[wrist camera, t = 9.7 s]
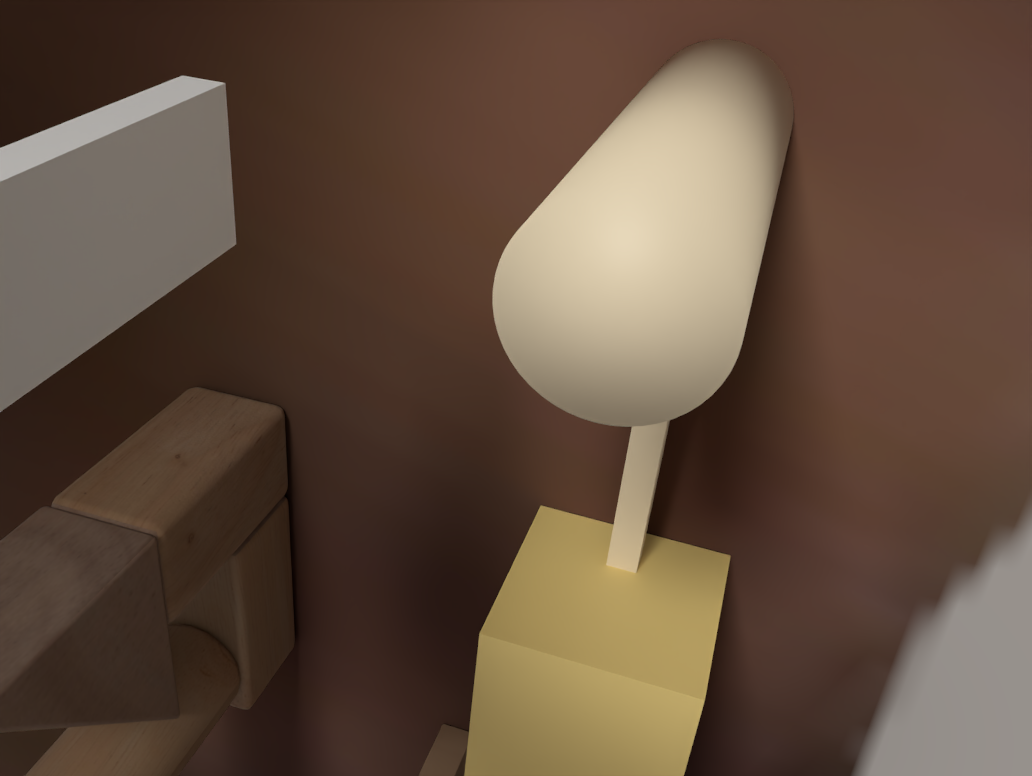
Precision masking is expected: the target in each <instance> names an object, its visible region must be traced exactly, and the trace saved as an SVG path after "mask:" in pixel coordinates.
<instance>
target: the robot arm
mask: <svg viewBox="0 0 1032 776" xmlns="http://www.w3.org/2000/svg"><path fill="white" fill-rule="evenodd" d="M235 245H236V231H235V217H234V202H233V187H232V173H231V158H230V143H229V128H228V114H227V99H226V84H225V83H222V82H217V81H211V80H205V79H200V78H194V77H188V76H180V77H177V78H175V79H172V80H170V81H167V82H165V83H162V84H160V85H157V86H155V87H152V88H149V89H147V90H144V91H142V92H139V93H137V94H134V95H132V96H129V97H127V98H124V99H122V100H119V101H117V102H114V103H112V104H109V105H107V106H104V107H102V108H99V109H97V110H94V111H92V112H89V113H87V114H84V115H82V116H79V117H77V118H74V119H72V120H69V121H67V122H64V123H62V124H59V125H57V126H54V127H52V128H49V129H47V130H44V131H42V132H39V133H37V134H34V135H32V136H29V137H27V138H24V139H22V140H19V141H17V142H14V143H11V144H9V145H6V146H4V147H1V148H0V412H1V411H2V410H4V409H5V408H7V407H8V406H9V405H11V404H12V403H14V402H15V401H16V400H18V399H19V398H21V397H22V396H24V395H25V394H26V393H28V392H29V391H31V390H32V389H33V388H35V387H36V386H38V385H39V384H40V383H42V382H43V381H45V380H46V379H47V378H49V377H50V376H52V375H53V374H54V373H56V372H57V371H59V370H60V369H61V368H63V367H64V366H66V365H67V364H69V363H70V362H71V361H73V360H74V359H76V358H77V357H78V356H80V355H81V354H83V353H84V352H85V351H87V350H88V349H90V348H91V347H92V346H94V345H95V344H97V343H98V342H99V341H101V340H102V339H104V338H105V337H107V336H108V335H109V334H111V333H112V332H114V331H115V330H116V329H118V328H119V327H121V326H122V325H123V324H125V323H126V322H128V321H129V320H130V319H132V318H133V317H135V316H136V315H137V314H139V313H140V312H142V311H143V310H144V309H146V308H147V307H149V306H150V305H152V304H153V303H154V302H156V301H157V300H159V299H160V298H161V297H163V296H164V295H166V294H167V293H168V292H170V291H171V290H173V289H174V288H175V287H177V286H178V285H180V284H181V283H182V282H184V281H185V280H187V279H188V278H189V277H191V276H192V275H194V274H195V273H197V272H198V271H199V270H201V269H202V268H204V267H205V266H206V265H208V264H209V263H211V262H212V261H213V260H215V259H216V258H218V257H219V256H220V255H222V254H223V253H225V252H226V251H227V250H229V249H230V248H232V247H233V246H235Z"/></svg>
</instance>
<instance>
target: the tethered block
mask: <svg viewBox="0 0 1032 776" xmlns="http://www.w3.org/2000/svg"><path fill="white" fill-rule="evenodd" d="M793 119H794V106H793V98H792V94H791V90H790V87H789V85H788V82H787V80H786V78H785V76H784V75H783V73H782V71H781V70H780V69H779V67H778V66H777V65H776V63H775V62H774V61H773V60H772V59H771V58H770V57H768V56H767V55H766V54H764V53H763V52H762V51H760V50H759V49H757V48H755V47H753V46H751V45H748V44H746V43H743V42H739V41H735V40H728V39H712V40H707V41H702V42H698V43H695V44H692V45H690V46H688V47H686V48H684V49H682V50H681V51H679V52H678V53H676V54H675V55H673V56H672V57H671V58H670V59H669V60H667V61H666V63H665V64H664V65H663V66H662V67H661V68H660V69H659V70H658V71H657V73H656V74H655V75H654V76H653V77H652V78H651V79H650V81H649V82H648V83H647V84H646V85H645V86H644V87H643V89H642V90H641V91H640V92H639V93H638V94H637V95H636V96H635V98H634V99H633V100H632V101H631V102H630V103H629V104H628V106H627V107H626V108H625V109H624V110H623V111H622V112H621V114H620V115H619V116H618V117H617V118H616V119H615V120H614V122H613V123H612V124H611V125H610V126H609V127H608V128H607V129H606V131H605V132H604V133H603V134H602V135H601V136H600V137H599V139H598V140H597V141H596V142H595V143H594V144H593V145H592V147H591V148H590V149H589V150H588V151H587V152H586V153H585V154H584V156H583V157H582V158H581V159H580V160H579V161H578V162H577V164H576V165H575V166H574V167H573V168H572V169H571V170H570V172H569V173H568V174H567V175H566V176H565V177H564V178H563V180H562V181H561V182H560V183H559V184H558V185H557V186H556V187H555V189H554V190H553V191H552V192H551V193H550V194H549V195H548V197H547V198H546V199H545V200H544V201H543V202H542V203H541V205H540V206H539V207H538V208H537V209H536V210H535V211H534V213H533V214H532V215H531V216H530V217H529V218H528V219H527V220H526V222H525V223H524V224H523V225H522V226H521V227H520V228H519V230H518V231H517V232H516V233H515V234H514V236H513V237H512V239H511V240H510V242H509V243H508V245H507V246H506V248H505V250H504V252H503V254H502V256H501V259H500V261H499V264H498V267H497V271H496V274H495V279H494V286H493V312H494V320H495V324H496V328H497V332H498V335H499V338H500V340H501V343H502V345H503V348H504V350H505V352H506V353H507V355H508V357H509V359H510V361H511V362H512V364H513V365H514V367H515V368H516V370H517V371H518V372H519V374H520V375H521V376H522V377H523V378H524V379H525V381H526V382H527V383H528V384H529V385H530V386H531V387H532V388H533V389H534V390H536V391H537V392H538V393H539V394H540V395H541V396H542V397H544V398H545V399H547V400H548V401H549V402H551V403H552V404H554V405H555V406H557V407H559V408H561V409H562V410H564V411H566V412H568V413H570V414H573V415H575V416H577V417H580V418H582V419H585V420H589V421H592V422H595V423H600V424H605V425H611V426H623V427H632V429H631V435H630V440H629V445H628V451H627V456H626V462H625V467H624V472H623V478H622V483H621V488H620V494H619V499H618V504H617V510H616V515H615V520H614V525H613V524H609V523H605V522H602V521H598V520H594V519H590V518H586V517H583V516H579V515H575V514H571V513H568V512H564V511H560V510H556V509H552V508H549V507H545V506H540V508H539V510H538V512H537V514H536V517H535V519H534V521H533V523H532V525H531V527H530V529H529V531H528V533H527V535H526V537H525V539H524V542H523V544H522V546H521V548H520V550H519V552H518V554H517V556H516V558H515V560H514V562H513V565H512V567H511V569H510V571H509V573H508V575H507V577H506V579H505V581H504V583H503V585H502V587H501V590H500V592H499V594H498V596H497V598H496V600H495V602H494V604H493V606H492V608H491V610H490V613H489V615H488V617H487V619H486V621H485V623H484V625H483V627H482V629H481V631H480V633H479V642H478V652H477V661H476V670H475V680H474V689H473V699H472V708H471V717H470V727H469V736H468V746H467V755H466V764H465V774H464V776H684V773H685V770H686V766H687V763H688V759H689V755H690V752H691V748H692V745H693V741H694V738H695V734H696V730H697V727H698V723H699V720H700V716H701V712H702V709H703V705H704V702H705V697H706V691H707V686H708V680H709V675H710V669H711V663H712V658H713V652H714V647H715V641H716V635H717V630H718V624H719V619H720V613H721V607H722V602H723V596H724V591H725V585H726V579H727V574H728V568H729V563H730V557H731V556H730V555H727V554H723V553H719V552H715V551H711V550H708V549H704V548H700V547H696V546H692V545H689V544H685V543H681V542H677V541H674V540H670V539H666V538H662V537H658V536H655V535H651V534H647V533H646V532H647V528H648V523H649V518H650V513H651V508H652V504H653V499H654V494H655V489H656V485H657V480H658V475H659V470H660V466H661V461H662V456H663V451H664V446H665V442H666V437H667V432H668V427H669V423H670V420H672V419H675V418H677V417H679V416H681V415H684V414H686V413H688V412H690V411H691V410H693V409H694V408H696V407H698V406H699V405H701V404H702V403H703V402H705V401H706V400H707V399H708V398H709V397H711V396H712V395H713V394H714V393H715V392H716V391H717V389H718V388H719V387H720V386H721V385H722V384H723V382H724V381H725V380H726V378H727V377H728V375H729V374H730V372H731V370H732V368H733V366H734V364H735V362H736V360H737V358H738V355H739V352H740V349H741V346H742V343H743V338H744V334H745V330H746V325H747V321H748V317H749V312H750V308H751V304H752V299H753V295H754V291H755V286H756V282H757V278H758V274H759V269H760V265H761V261H762V256H763V252H764V248H765V243H766V239H767V235H768V230H769V226H770V222H771V217H772V213H773V209H774V204H775V200H776V196H777V191H778V187H779V183H780V178H781V174H782V170H783V165H784V161H785V157H786V153H787V148H788V144H789V140H790V135H791V131H792V126H793Z"/></svg>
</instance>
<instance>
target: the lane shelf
mask: <svg viewBox="0 0 1032 776" xmlns="http://www.w3.org/2000/svg"><path fill="white" fill-rule="evenodd" d="M468 736H469V732H468V731H465V730H462V729H458V728H455V727H452V726H449V725H446V724H443V725H442V727H441V729H440V731H439V733H438V735H437V737H436V740H435V742H434V744H433V746H432V748H431V750H430V752H429V754H428V756H427V759H426V761H425V763H424V765H423V767H422V769H421V771H420V773H419V776H464V774H465V764H466V755H467V746H468Z"/></svg>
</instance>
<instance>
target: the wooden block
mask: <svg viewBox="0 0 1032 776" xmlns="http://www.w3.org/2000/svg"><path fill="white" fill-rule="evenodd" d="M287 488H288V474H287V453H286V432H285V413H284V411H283V409H282V408H281V407H279V406H277V405H274V404H269V403H265V402H261V401H257V400H253V399H248V398H244V397H240V396H236V395H231V394H227V393H223V392H219V391H215V390H210V389H206V388H202V387H193V388H190V389H188V390H186V391H185V392H184V393H183V394H182V395H180V396H179V397H178V398H177V399H175V400H174V401H173V402H172V403H170V404H169V405H168V406H167V407H166V408H164V409H163V410H162V411H161V412H159V413H158V414H157V415H156V416H155V417H153V418H152V419H151V420H150V421H148V422H147V423H146V424H145V425H143V426H142V427H141V428H140V429H139V430H137V431H136V432H135V433H134V434H132V435H131V436H130V437H129V438H127V439H126V440H125V441H124V442H123V443H121V444H120V445H119V446H118V447H116V448H115V449H114V450H113V451H111V452H110V453H109V454H108V455H107V456H105V457H104V458H103V459H102V460H100V461H99V462H98V463H97V464H96V465H94V466H93V467H92V468H91V469H89V470H88V471H87V472H86V473H84V474H83V475H82V476H81V477H80V478H78V479H77V480H76V481H75V482H73V483H72V484H71V485H70V486H68V487H67V488H66V489H65V490H64V491H62V492H61V493H60V494H59V495H57V496H56V497H55V499H54V501H53V502H52V506H51V507H50V506H44V507H41V508H40V509H39V510H37V511H36V512H35V513H34V514H32V515H31V516H30V517H29V518H28V519H26V520H25V521H24V522H23V523H21V524H20V525H19V526H18V527H16V528H15V529H14V530H13V531H12V532H10V533H9V534H8V535H7V536H5V537H4V538H3V539H2V540H0V733H4V732H17V731H30V730H43V729H56V728H67V729H66V730H65V731H64V732H63V734H62V735H61V736H60V737H59V738H58V739H57V740H56V741H55V743H54V744H53V745H52V746H51V747H50V748H49V749H48V750H47V751H46V753H45V754H44V755H43V756H42V757H41V758H40V759H39V760H38V762H37V763H36V764H35V765H34V766H33V767H32V768H31V769H30V770H29V772H28V773H27V774H26V775H25V776H178V775H179V774H180V772H181V771H182V770H183V768H184V767H185V766H186V764H187V763H188V761H189V760H190V759H191V757H192V756H193V755H194V753H195V752H196V750H197V749H198V748H199V746H200V745H201V744H202V742H203V741H204V739H205V738H206V737H207V735H208V734H209V733H210V731H211V730H212V729H213V727H214V726H215V724H216V723H217V722H218V720H219V719H220V718H221V716H222V715H223V713H224V712H225V711H226V709H227V708H228V707H229V705H230V706H233V707H236V708H240V709H243V710H247V709H250V708H251V707H252V706H253V705H254V703H255V702H256V700H257V699H258V697H259V696H260V695H261V693H262V692H263V690H264V689H265V687H266V686H267V685H268V683H269V682H270V680H271V679H272V678H273V676H274V675H275V673H276V672H277V670H278V669H279V668H280V666H281V665H282V663H283V662H284V660H285V659H286V658H287V656H288V655H289V653H290V652H291V650H292V649H293V647H294V645H295V630H294V609H293V588H292V567H291V547H290V526H289V505H288V500H287V498H286V497H285V496H284V495H285V493H286V491H287Z"/></svg>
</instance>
